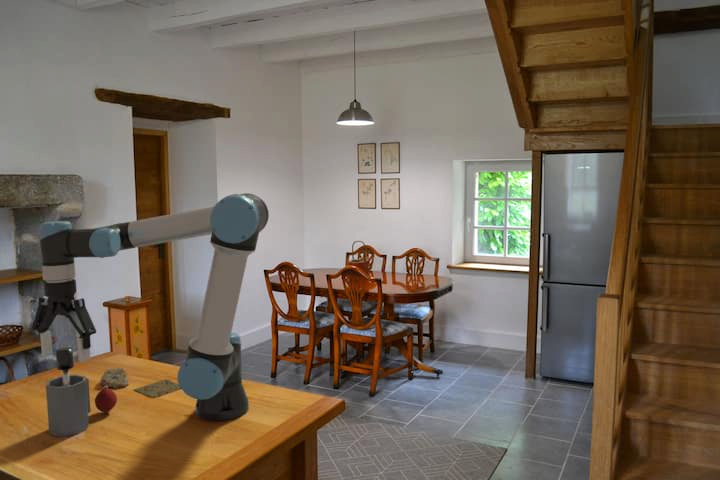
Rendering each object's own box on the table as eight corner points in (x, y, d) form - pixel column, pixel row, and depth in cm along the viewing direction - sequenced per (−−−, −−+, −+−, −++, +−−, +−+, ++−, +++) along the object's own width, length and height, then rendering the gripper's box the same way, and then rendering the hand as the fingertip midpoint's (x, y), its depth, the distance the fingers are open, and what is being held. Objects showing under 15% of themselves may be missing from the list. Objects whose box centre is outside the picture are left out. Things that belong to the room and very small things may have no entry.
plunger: (87, 413, 157) (83, 347, 155) (67, 423, 151) (63, 354, 149) (69, 410, 159) (65, 344, 157) (49, 419, 153) (44, 351, 151)
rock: (98, 383, 191) (100, 387, 182) (101, 365, 192) (104, 368, 183) (125, 385, 194) (129, 389, 186) (128, 367, 196) (132, 370, 187)
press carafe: (101, 421, 160) (98, 375, 158) (68, 439, 149) (64, 389, 148) (76, 416, 163) (73, 371, 162) (41, 433, 153) (38, 384, 151)
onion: (109, 417, 162) (107, 390, 162) (91, 416, 164) (89, 389, 163) (121, 409, 168) (120, 383, 167) (104, 408, 169) (102, 382, 168)
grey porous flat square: (165, 380, 193) (164, 377, 193) (186, 388, 186) (186, 385, 185) (132, 391, 184) (132, 388, 184) (153, 400, 176) (153, 397, 176)
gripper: (107, 279, 150) (112, 358, 152) (37, 275, 159) (44, 349, 161) (83, 285, 143) (90, 367, 145) (12, 280, 152) (19, 357, 154)
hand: (66, 358), depth 153 cm, fingers open, 13 cm apart
